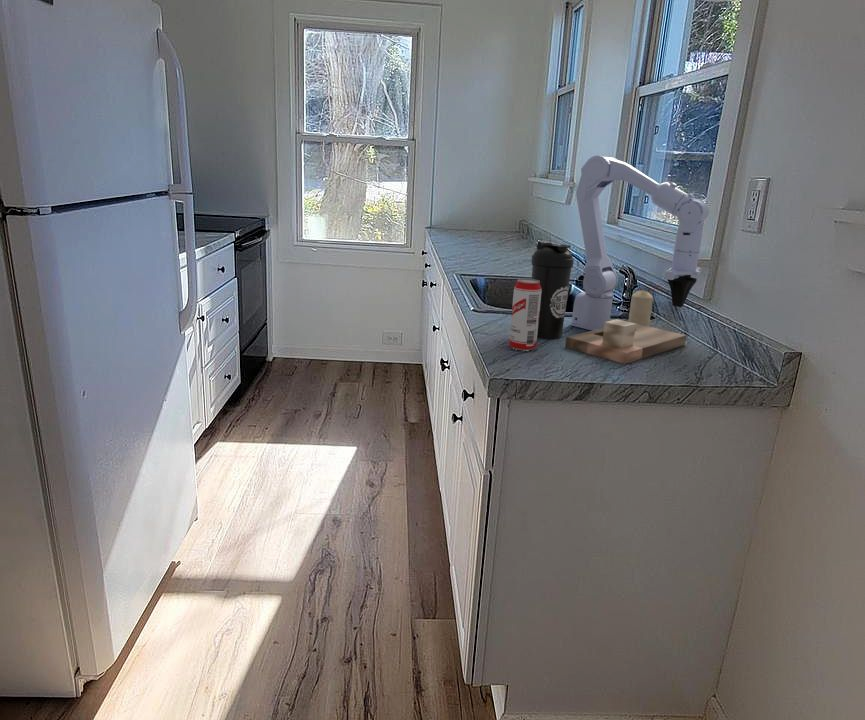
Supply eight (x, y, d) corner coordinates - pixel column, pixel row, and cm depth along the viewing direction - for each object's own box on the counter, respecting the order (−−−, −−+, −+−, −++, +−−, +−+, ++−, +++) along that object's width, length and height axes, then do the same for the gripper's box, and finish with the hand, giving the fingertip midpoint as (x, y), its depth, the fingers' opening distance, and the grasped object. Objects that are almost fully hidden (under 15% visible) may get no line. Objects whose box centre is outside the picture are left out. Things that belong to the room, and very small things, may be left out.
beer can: (518, 353, 148) (525, 283, 143) (503, 346, 153) (509, 278, 148) (541, 351, 150) (548, 282, 146) (525, 343, 156) (531, 277, 151)
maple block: (602, 343, 150) (604, 321, 149) (614, 339, 154) (616, 319, 152) (621, 348, 147) (624, 326, 145) (632, 344, 150) (636, 323, 149)
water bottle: (547, 342, 158) (557, 247, 151) (516, 332, 165) (524, 241, 159) (573, 336, 165) (584, 245, 158) (541, 327, 172) (550, 240, 165)
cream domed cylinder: (649, 330, 176) (655, 293, 173) (628, 328, 177) (633, 291, 174) (647, 325, 181) (652, 290, 178) (626, 323, 182) (631, 288, 179)
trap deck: (565, 347, 155) (566, 336, 154) (627, 331, 173) (629, 321, 173) (624, 363, 144) (626, 353, 143) (684, 344, 162) (686, 335, 162)
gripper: (688, 255, 150) (678, 312, 154) (716, 251, 159) (706, 306, 163) (660, 250, 154) (651, 307, 158) (688, 247, 164) (679, 300, 168)
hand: (677, 306), depth 161 cm, fingers closed
